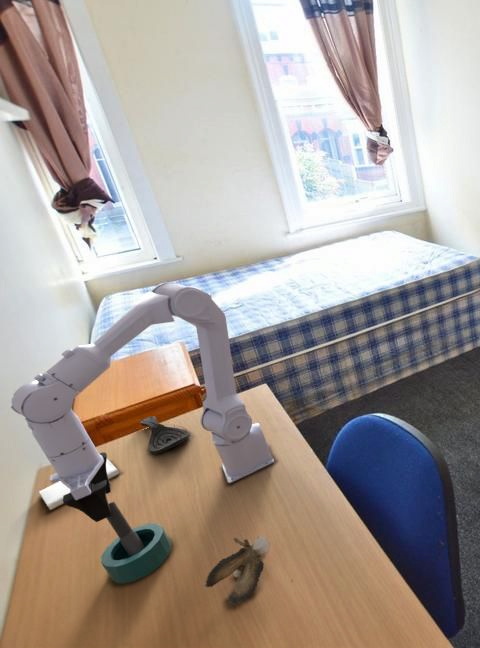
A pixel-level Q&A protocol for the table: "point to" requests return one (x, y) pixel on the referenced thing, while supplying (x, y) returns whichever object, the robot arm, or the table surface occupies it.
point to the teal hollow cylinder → (137, 555)
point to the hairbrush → (163, 435)
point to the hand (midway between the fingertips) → (103, 505)
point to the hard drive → (67, 489)
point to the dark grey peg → (124, 531)
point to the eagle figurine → (241, 569)
